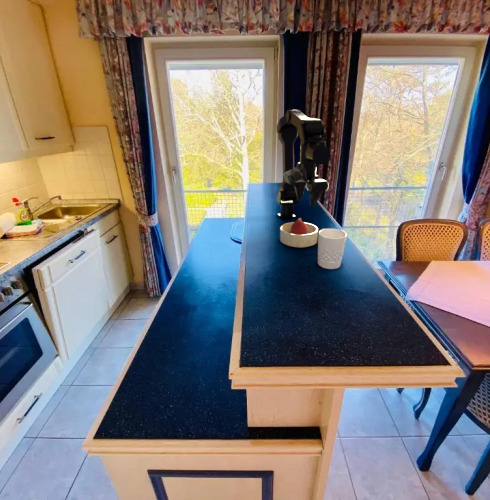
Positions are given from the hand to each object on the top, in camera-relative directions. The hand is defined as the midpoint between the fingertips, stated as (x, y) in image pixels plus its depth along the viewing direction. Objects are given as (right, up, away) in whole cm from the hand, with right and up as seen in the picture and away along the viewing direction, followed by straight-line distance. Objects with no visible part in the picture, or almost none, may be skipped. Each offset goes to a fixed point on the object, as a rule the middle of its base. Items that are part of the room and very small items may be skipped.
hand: (305, 204), depth 102 cm
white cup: (+4, -21, -17) cm, 28 cm away
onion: (-3, -13, -2) cm, 14 cm away
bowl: (-3, -14, -1) cm, 14 cm away
